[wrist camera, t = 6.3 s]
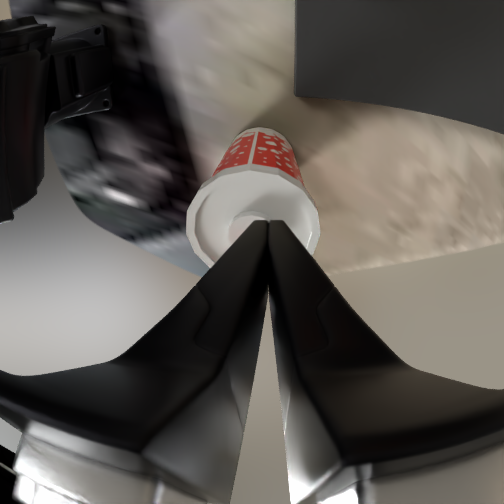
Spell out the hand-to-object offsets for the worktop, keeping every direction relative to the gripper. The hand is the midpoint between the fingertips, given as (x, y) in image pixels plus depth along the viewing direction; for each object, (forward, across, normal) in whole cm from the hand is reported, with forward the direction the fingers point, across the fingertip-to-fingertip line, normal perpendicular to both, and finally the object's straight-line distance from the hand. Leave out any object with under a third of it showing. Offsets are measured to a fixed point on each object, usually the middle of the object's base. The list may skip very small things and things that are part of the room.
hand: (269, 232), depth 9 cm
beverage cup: (+13, +1, +3) cm, 14 cm away
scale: (+13, -10, -8) cm, 19 cm away
